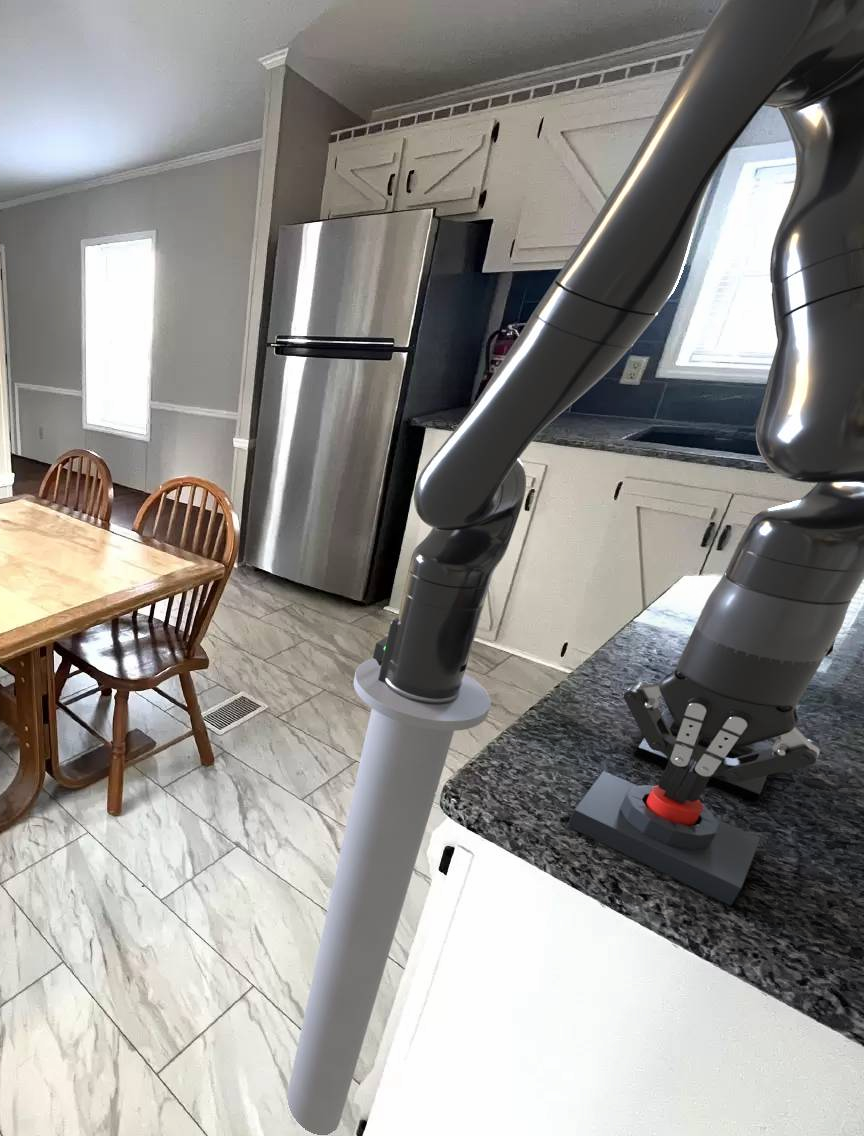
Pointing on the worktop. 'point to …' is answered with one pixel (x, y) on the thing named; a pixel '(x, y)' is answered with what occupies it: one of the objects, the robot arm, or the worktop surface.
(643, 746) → the black metal frame
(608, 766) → the worktop surface
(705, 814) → the button box
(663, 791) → the button
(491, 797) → the worktop surface
